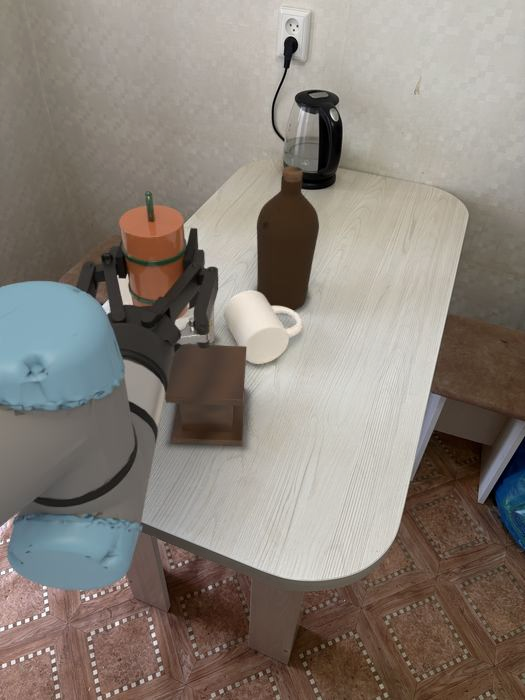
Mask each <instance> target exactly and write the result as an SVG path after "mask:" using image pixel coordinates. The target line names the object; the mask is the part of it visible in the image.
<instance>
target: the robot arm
mask: <svg viewBox="0 0 525 700" xmlns="http://www.w3.org/2000/svg"><path fill="white" fill-rule="evenodd" d="M198 235H199V234H198V228H197V227H190V229H189V233H188V238H187V241H186V243H187V250H186V252H185V256H184V272H183V274H182V275H181V276H180V277H179V278H178V280H177V281H176V282H175V283H174V284H173V286H172V287H171V288H170V289H169V291H168V292H167V293H166V294H165V295H164V297H161V296H160V297H159V298H158V299H157V300H156V301H155V303H154V304H153V305H152V306H141V307H139V306H135V305H123V301H122V296H121V292H120V287H119V282H118V277H119V278H121V279H126V277H127V274H128V273H127V267H126V262H125V256H124V255H123V252H122V239H121V241H120V243H119V245H113V246H112V247H111V248H110V249H109V250H108V251H107V252H103V253H101V255H100V260H101V263H95V262H94V261H86V262H83V264H82V267H81V269H80V273H79V276H78V280H77V283H76V286H74V285H72V284H67V283H63V282H58V281H52V280H32V281H29V280H28V281H22V282H16V283H10V284H6V285H3V286H1V287H0V528H1V527H3V525H5V524H6V523H7V522H8V521H10V520H11V519H12V518H13V521H12V525H13V527H12V530H11V534H10V539H9V541H8V546H7V549H6V558H7V561H8V563H9V565H10V567H11V569H13V570H14V571H15V572H16V573H17V574H18V575H19V576H20V577H23V578H24V579H25V580H28V581H30V582H32V583H35V584H37V585H40V586H43V587H47V588H51V589H56V590H64V591H83V592H84V591H86V592H87V591H93V590H100V589H104V588H108V587H110V586H113V585H114V584H116V583H117V582H119V581H121V580H122V579H123V578H124V577H125V576H126V574H127V573H128V572H129V570H130V568H131V565H132V561H133V557H134V553H135V549H136V546H137V543H138V540H139V536H140V534H141V533H142V531H143V527H144V525H142V520H143V514H144V510H145V509H144V508H145V503H146V497H147V492H148V487H149V482H150V477H151V472H152V465H153V461H154V455H155V449H156V444H157V440H158V434H159V430H160V425H161V420H162V415H163V411H164V407H165V403H166V401H165V394H166V391H167V388H168V382H169V377H170V372H171V367H172V362H173V357H174V355H175V353H176V352H177V351H178V350H179V349H180V348H181V346H182V345H183V344H190V343H197V346H198V347H199V348H202V349H205V348H208V347H209V346H210V345H211V343H210V333H209V322H210V318H211V315H212V311H213V307H214V308H215V303H216V300H217V296H218V292H219V269H218V267H217V266H208V267H207V268H206V267H205V265H206V258H205V254H206V253H205V251H204V249H199V236H198ZM117 276H118V277H117ZM103 282H105V287H106V293H107V299H108V304H109V309H110V311H109V312H108V313H107V312H106V310H105V309H104V307H103V306H102V305H101V303H100V302H99V301H98V300H97V299H96V298H97V294H98V290H99V286H100V283H103ZM198 290H200V291H199V295H198V298H197V301H196V304H195V307H194V317H191V318H189V322H188V323H187V324H186V327H185V328H184V329H183V330H179V329H178V327H177V326H176V325H175V321H176V319H177V318H178V316H179V315H180V314H181V312H182V311H183V310H184V308H185V307H186V306H187V304H188V303H189V302H190V300H191V299H192V298H193V296H194V295H195V294H196V292H197V291H198Z"/></svg>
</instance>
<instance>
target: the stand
mask: <svg viewBox="0 0 525 700" xmlns="http://www.w3.org/2000/svg"><path fill="white" fill-rule="evenodd" d="M246 349H247V347H245V346H238V345H222V344H220V345H219V344H210V346H209V347H208V348H205V349H202V348H199V347H198V346H197V344H183V345H182V346H181V348H180V349H179V350H178V351H177V352H176V353H175V355H174V357H173V362H172V367H171V372H170V377H169V382H168V388H167V391H166V393H165V403H166V404H176V405H175V406H176V407H175V412H174V417H173V423H172V427H171V428H172V429H171V433H170V444H174V445H175V444H177V445H200V446H202V445H203V446H223V447H224V446H227V447H228V446H229V447H243V441H244V439H243V438H244V421H245V405H246V404H245V403H246V402H245V401H246V387H245V383H246V368H247V367H246V366H247V360H246Z"/></svg>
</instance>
